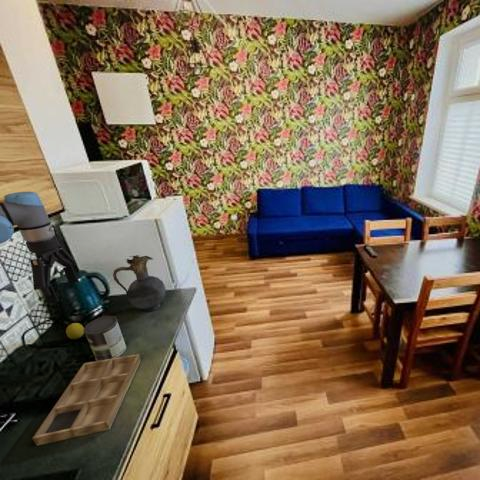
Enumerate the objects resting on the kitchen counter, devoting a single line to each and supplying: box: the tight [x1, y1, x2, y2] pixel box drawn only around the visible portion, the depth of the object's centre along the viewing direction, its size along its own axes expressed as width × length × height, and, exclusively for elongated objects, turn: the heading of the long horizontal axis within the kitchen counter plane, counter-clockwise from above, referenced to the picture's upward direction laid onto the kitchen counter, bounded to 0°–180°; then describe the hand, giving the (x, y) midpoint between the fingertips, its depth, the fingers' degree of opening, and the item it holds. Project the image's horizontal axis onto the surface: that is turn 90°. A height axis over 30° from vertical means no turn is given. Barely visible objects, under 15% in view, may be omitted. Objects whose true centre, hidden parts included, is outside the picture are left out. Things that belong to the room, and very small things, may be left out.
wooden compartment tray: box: [31, 353, 141, 447], centre depth 89 cm, size 18×27×3 cm
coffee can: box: [83, 315, 127, 361], centre depth 105 cm, size 10×10×14 cm
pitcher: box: [112, 254, 167, 313], centre depth 128 cm, size 11×19×30 cm, turn 111°
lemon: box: [65, 322, 85, 340], centre depth 113 cm, size 6×6×8 cm
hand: (64, 291), depth 97 cm, fingers open, 13 cm apart
